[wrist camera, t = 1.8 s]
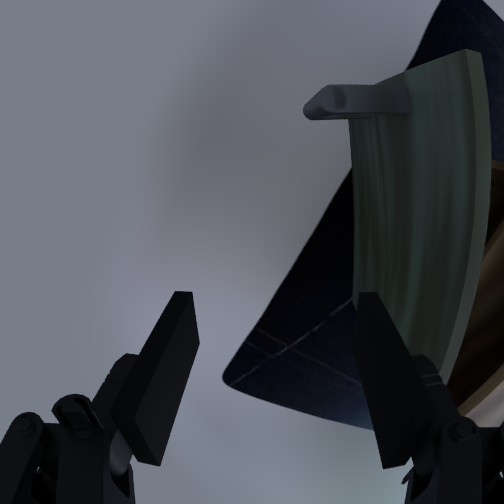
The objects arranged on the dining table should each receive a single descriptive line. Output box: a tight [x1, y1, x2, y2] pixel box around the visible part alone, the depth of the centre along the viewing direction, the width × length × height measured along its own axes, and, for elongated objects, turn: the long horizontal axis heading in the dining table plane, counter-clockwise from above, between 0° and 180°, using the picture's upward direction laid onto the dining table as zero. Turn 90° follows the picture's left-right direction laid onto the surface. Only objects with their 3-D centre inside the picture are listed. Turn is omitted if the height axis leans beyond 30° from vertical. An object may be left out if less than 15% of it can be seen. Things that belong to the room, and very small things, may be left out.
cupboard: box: [446, 160, 504, 427], centre depth 26 cm, size 18×26×24 cm
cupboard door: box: [303, 49, 491, 386], centre depth 24 cm, size 7×26×24 cm, turn 7°
